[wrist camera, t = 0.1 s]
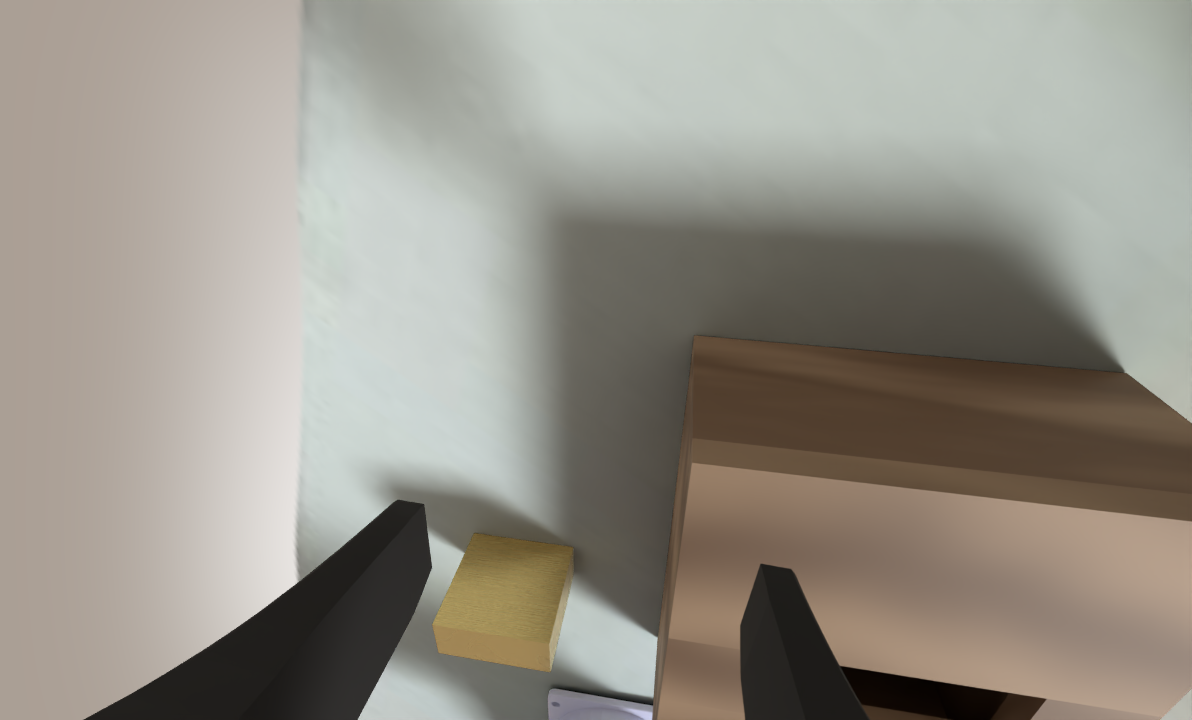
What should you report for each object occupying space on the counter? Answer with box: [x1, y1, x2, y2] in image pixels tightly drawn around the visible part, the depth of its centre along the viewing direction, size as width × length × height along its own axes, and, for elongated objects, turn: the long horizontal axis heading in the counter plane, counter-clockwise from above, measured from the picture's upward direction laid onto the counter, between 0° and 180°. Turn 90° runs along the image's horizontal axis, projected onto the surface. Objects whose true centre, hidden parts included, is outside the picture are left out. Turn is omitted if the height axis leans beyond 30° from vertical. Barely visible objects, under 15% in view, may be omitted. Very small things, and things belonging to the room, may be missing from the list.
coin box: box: [652, 335, 1192, 720], centre depth 20 cm, size 18×14×7 cm
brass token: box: [432, 533, 574, 672], centre depth 25 cm, size 2×5×5 cm, turn 89°
